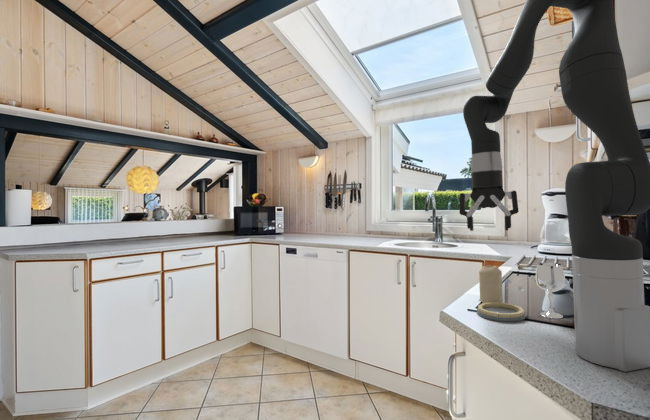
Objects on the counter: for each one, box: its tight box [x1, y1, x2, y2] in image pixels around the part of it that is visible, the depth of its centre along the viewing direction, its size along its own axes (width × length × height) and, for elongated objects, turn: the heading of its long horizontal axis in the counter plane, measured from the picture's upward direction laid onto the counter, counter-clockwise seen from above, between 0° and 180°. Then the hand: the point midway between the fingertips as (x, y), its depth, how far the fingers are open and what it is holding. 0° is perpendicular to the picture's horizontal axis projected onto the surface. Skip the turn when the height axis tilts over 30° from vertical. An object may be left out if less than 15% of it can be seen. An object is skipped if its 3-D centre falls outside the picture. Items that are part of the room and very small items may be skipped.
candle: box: [478, 264, 504, 304], centre depth 92 cm, size 6×6×10 cm
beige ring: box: [476, 302, 526, 323], centre depth 82 cm, size 10×10×2 cm
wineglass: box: [535, 262, 566, 320], centre depth 80 cm, size 6×6×12 cm
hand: (488, 230), depth 92 cm, fingers open, 8 cm apart
